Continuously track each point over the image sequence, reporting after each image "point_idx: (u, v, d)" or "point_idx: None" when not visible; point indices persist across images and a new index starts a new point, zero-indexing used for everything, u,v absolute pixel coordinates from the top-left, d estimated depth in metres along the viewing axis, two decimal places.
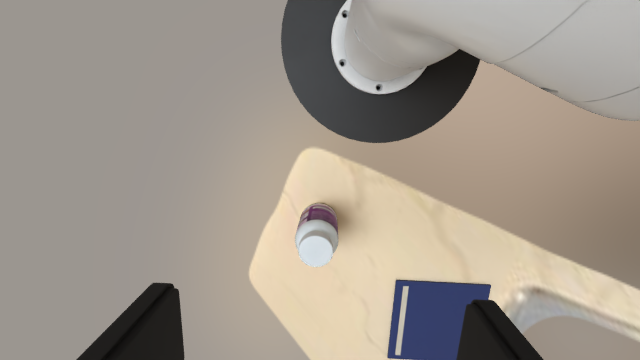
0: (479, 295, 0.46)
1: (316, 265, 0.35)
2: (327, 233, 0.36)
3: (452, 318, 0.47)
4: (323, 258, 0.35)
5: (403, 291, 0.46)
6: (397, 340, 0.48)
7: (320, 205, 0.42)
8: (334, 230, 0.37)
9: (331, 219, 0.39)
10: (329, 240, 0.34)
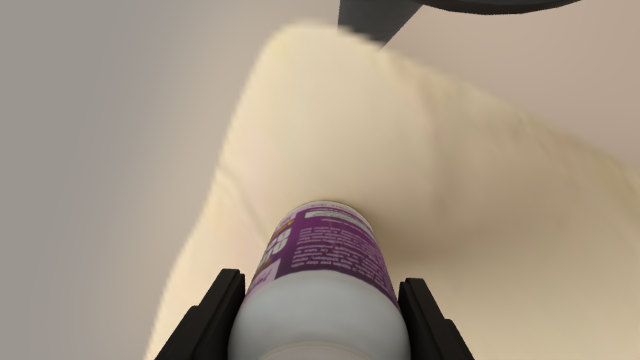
0: None
1: None
2: (370, 342, 0.08)
3: None
4: None
5: None
6: None
7: (329, 207, 0.13)
8: (398, 320, 0.08)
9: (374, 261, 0.10)
10: None
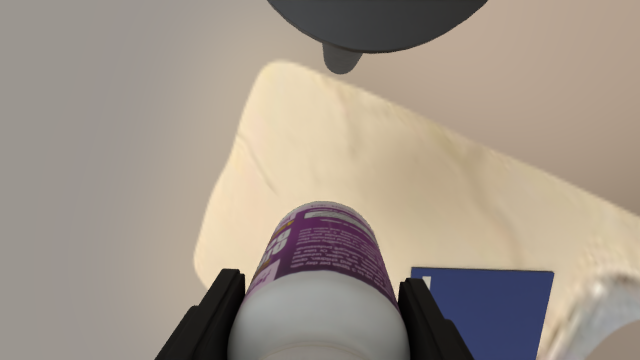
0: (537, 288, 0.30)
1: None
2: (369, 342, 0.08)
3: (496, 323, 0.32)
4: None
5: None
6: None
7: (329, 207, 0.13)
8: (397, 320, 0.08)
9: (373, 261, 0.10)
10: None
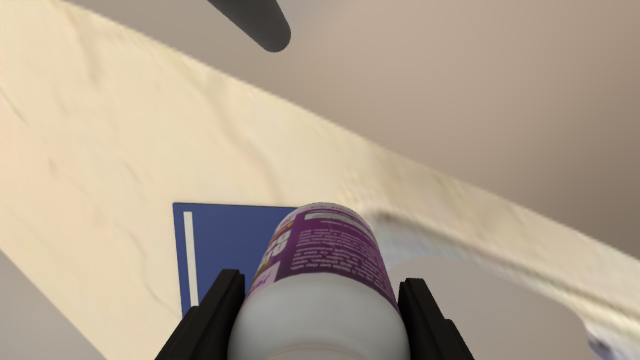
0: None
1: None
2: (369, 345, 0.08)
3: None
4: None
5: (185, 220, 0.30)
6: (191, 297, 0.33)
7: (329, 209, 0.13)
8: (397, 322, 0.08)
9: (373, 263, 0.10)
10: None
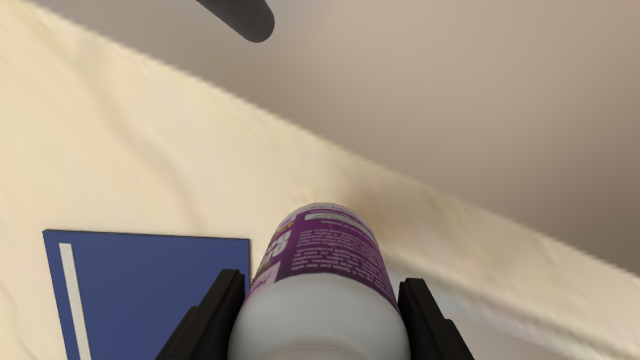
0: (227, 263, 0.21)
1: None
2: (370, 346, 0.08)
3: (182, 314, 0.22)
4: None
5: (63, 255, 0.21)
6: None
7: (329, 209, 0.13)
8: (397, 323, 0.08)
9: (374, 263, 0.10)
10: None
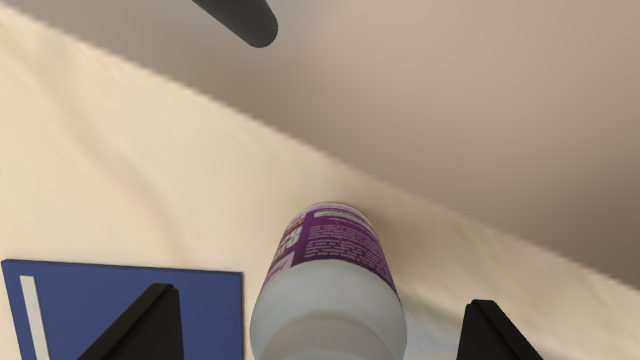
0: (215, 301, 0.18)
1: None
2: (371, 319, 0.09)
3: None
4: None
5: (24, 289, 0.18)
6: None
7: (335, 208, 0.15)
8: (395, 302, 0.10)
9: (375, 254, 0.12)
10: None
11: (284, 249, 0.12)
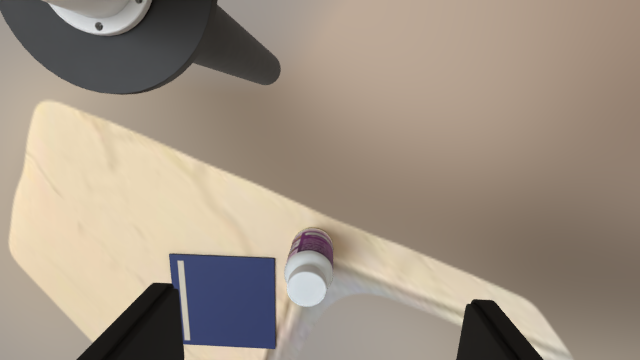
0: (263, 270, 0.40)
1: (307, 304, 0.30)
2: (320, 267, 0.32)
3: (239, 297, 0.41)
4: (315, 296, 0.30)
5: (178, 266, 0.40)
6: (184, 323, 0.43)
7: (313, 231, 0.37)
8: (328, 263, 0.32)
9: (325, 248, 0.34)
10: (322, 276, 0.30)
11: (294, 247, 0.35)
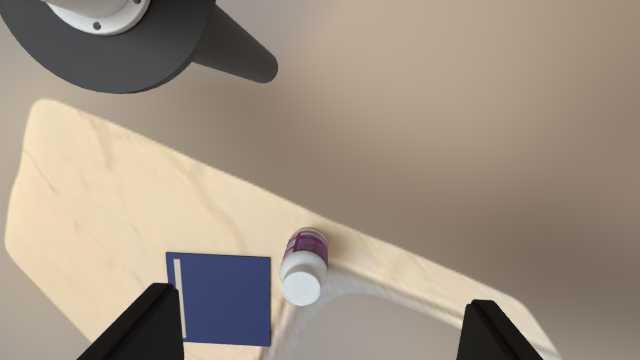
0: (259, 269, 0.41)
1: (302, 304, 0.31)
2: (315, 267, 0.32)
3: (234, 296, 0.42)
4: (310, 296, 0.31)
5: (175, 265, 0.41)
6: None
7: (309, 231, 0.38)
8: (323, 263, 0.33)
9: (320, 249, 0.35)
10: (316, 276, 0.31)
11: (289, 247, 0.35)
